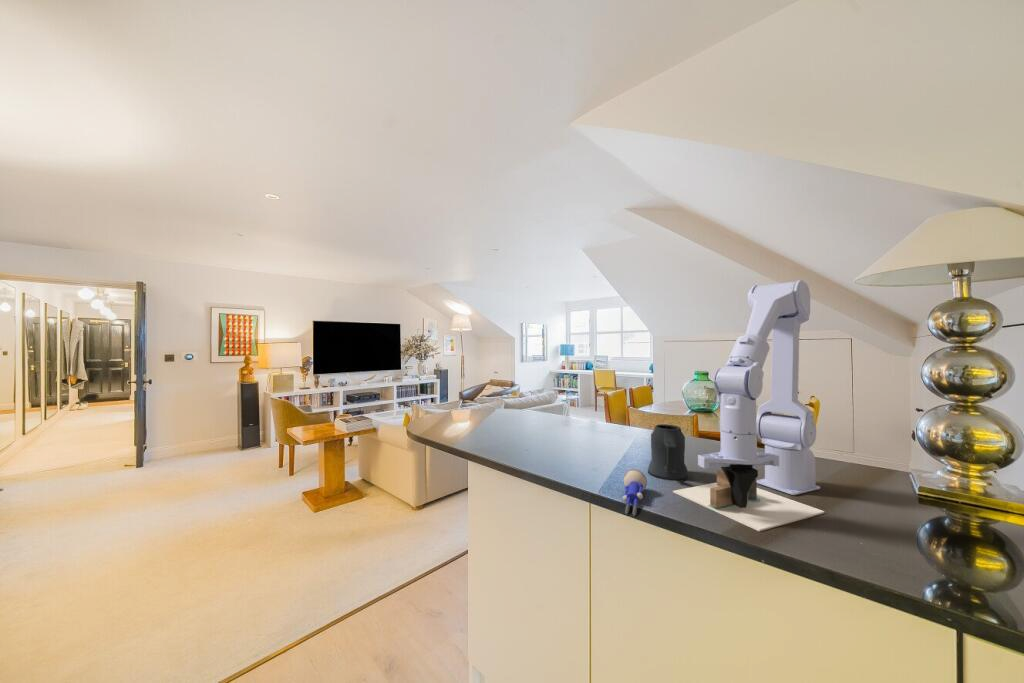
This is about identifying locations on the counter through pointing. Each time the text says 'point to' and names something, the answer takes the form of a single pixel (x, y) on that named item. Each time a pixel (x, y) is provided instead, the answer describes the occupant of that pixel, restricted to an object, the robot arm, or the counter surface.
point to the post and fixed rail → (723, 481)
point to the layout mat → (754, 508)
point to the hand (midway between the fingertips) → (738, 505)
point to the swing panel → (721, 496)
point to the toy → (634, 489)
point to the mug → (668, 453)
